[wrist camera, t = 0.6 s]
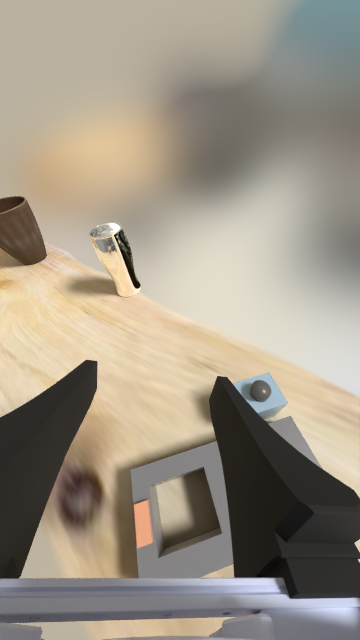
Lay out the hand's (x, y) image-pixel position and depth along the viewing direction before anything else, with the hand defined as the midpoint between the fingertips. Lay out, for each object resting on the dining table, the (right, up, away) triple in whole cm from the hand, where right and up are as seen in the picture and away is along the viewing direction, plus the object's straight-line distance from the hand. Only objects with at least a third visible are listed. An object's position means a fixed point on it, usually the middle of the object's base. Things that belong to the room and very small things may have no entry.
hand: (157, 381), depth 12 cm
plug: (+12, -9, +17) cm, 22 cm away
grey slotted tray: (+7, -16, +11) cm, 21 cm away
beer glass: (-11, +11, +37) cm, 41 cm away
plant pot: (-46, +24, +53) cm, 74 cm away
